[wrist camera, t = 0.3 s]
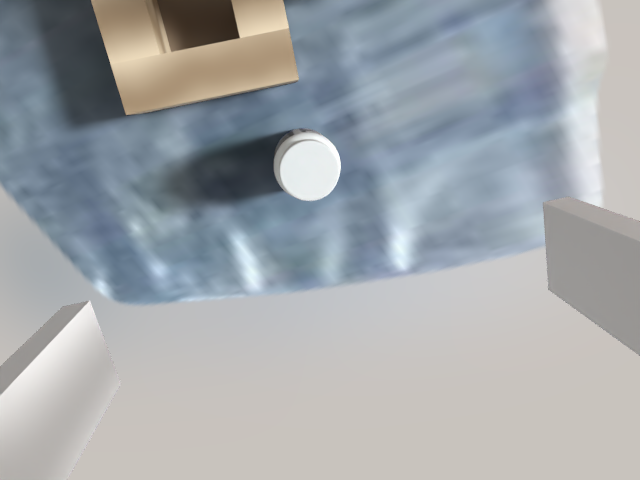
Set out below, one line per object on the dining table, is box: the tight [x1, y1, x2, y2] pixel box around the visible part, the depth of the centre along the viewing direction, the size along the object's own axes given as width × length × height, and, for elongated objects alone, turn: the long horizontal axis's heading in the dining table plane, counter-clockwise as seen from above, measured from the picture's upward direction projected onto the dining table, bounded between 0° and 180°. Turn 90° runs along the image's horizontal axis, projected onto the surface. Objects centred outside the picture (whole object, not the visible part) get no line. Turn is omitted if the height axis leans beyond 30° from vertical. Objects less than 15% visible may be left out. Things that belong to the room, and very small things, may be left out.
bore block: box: [91, 0, 299, 115], centre depth 33 cm, size 12×12×5 cm
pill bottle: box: [274, 128, 341, 201], centre depth 35 cm, size 5×5×8 cm
